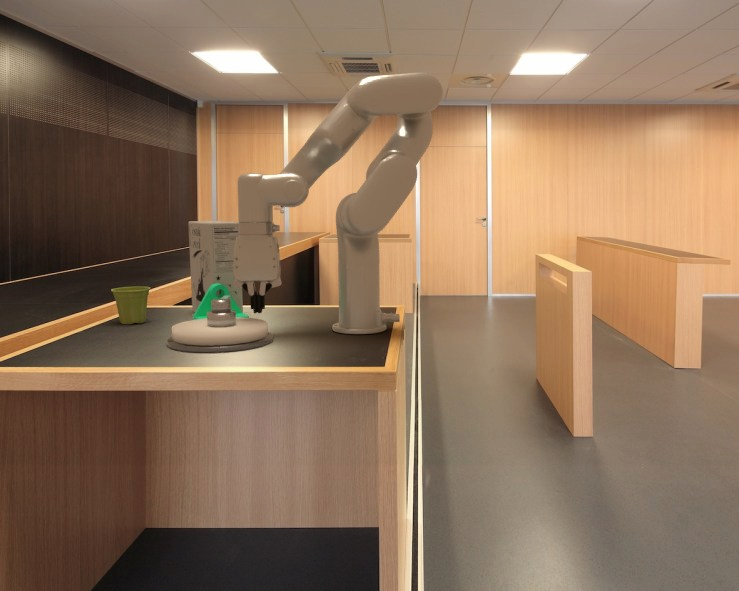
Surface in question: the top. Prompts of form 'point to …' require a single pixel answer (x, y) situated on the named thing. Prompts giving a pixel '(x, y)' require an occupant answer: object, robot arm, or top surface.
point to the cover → (221, 314)
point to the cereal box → (212, 258)
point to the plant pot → (131, 304)
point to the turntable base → (220, 346)
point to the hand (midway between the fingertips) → (257, 312)
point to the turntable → (219, 332)
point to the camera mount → (211, 294)
